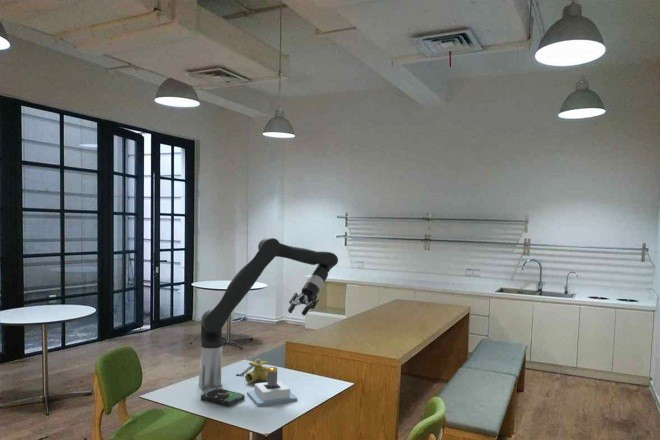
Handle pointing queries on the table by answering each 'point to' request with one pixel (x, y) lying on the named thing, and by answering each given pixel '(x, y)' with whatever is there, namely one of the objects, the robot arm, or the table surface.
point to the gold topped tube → (272, 378)
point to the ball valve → (257, 372)
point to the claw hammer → (245, 371)
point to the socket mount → (271, 394)
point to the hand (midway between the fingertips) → (296, 313)
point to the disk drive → (222, 397)
